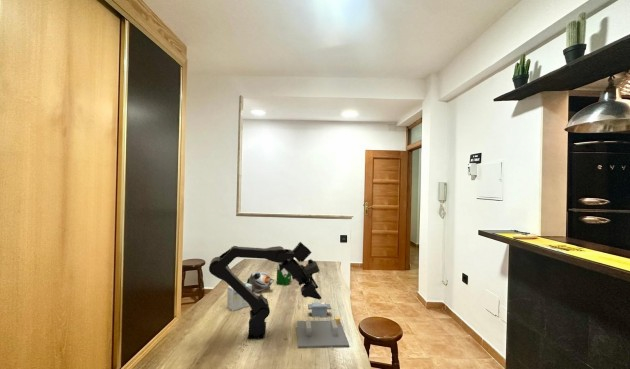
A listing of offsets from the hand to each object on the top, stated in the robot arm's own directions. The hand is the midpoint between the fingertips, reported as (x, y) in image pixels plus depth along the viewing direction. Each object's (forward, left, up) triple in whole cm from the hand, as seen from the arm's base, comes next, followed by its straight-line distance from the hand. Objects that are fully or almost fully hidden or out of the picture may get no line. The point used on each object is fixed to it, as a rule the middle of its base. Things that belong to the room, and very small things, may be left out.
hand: (319, 293), depth 123 cm
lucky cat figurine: (-30, +46, -16) cm, 57 cm away
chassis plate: (+1, -5, -15) cm, 16 cm away
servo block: (+2, +13, -16) cm, 20 cm away
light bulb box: (-38, +23, -16) cm, 47 cm away
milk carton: (-16, +57, -16) cm, 61 cm away
